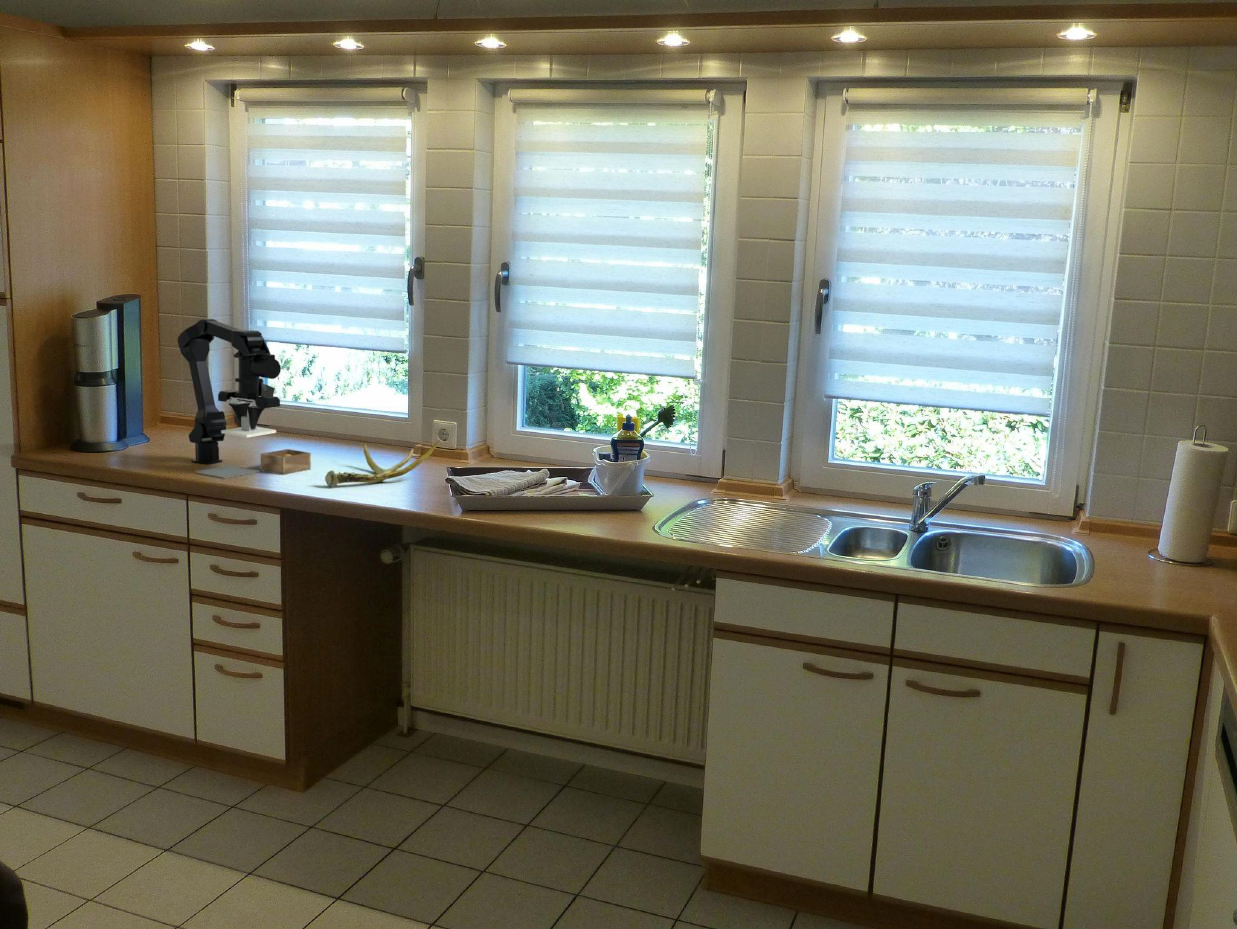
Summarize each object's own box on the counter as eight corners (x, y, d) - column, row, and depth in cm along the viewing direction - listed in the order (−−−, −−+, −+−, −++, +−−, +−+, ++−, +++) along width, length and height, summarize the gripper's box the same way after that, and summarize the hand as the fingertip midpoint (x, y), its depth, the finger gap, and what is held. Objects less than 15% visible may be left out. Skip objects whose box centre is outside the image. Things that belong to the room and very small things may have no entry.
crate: (260, 470, 320) (260, 453, 319) (288, 465, 329) (288, 448, 328) (283, 474, 316) (283, 457, 315) (310, 469, 325) (310, 452, 324)
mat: (194, 472, 311) (194, 471, 311) (229, 466, 323) (229, 465, 323) (224, 478, 306) (224, 477, 306) (259, 472, 317) (259, 470, 317)
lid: (221, 433, 312) (221, 416, 311) (251, 428, 323) (251, 412, 322) (246, 437, 308) (246, 420, 307) (276, 432, 318) (276, 416, 318)
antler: (322, 496, 303) (318, 462, 300) (367, 467, 333) (363, 436, 331) (415, 495, 298) (411, 461, 296) (451, 465, 329) (448, 434, 326)
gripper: (293, 376, 315) (293, 429, 318) (245, 369, 323) (245, 421, 326) (265, 379, 305) (265, 434, 308) (216, 372, 313) (216, 425, 316)
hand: (248, 428), depth 315 cm, fingers closed on lid, 3 cm apart
